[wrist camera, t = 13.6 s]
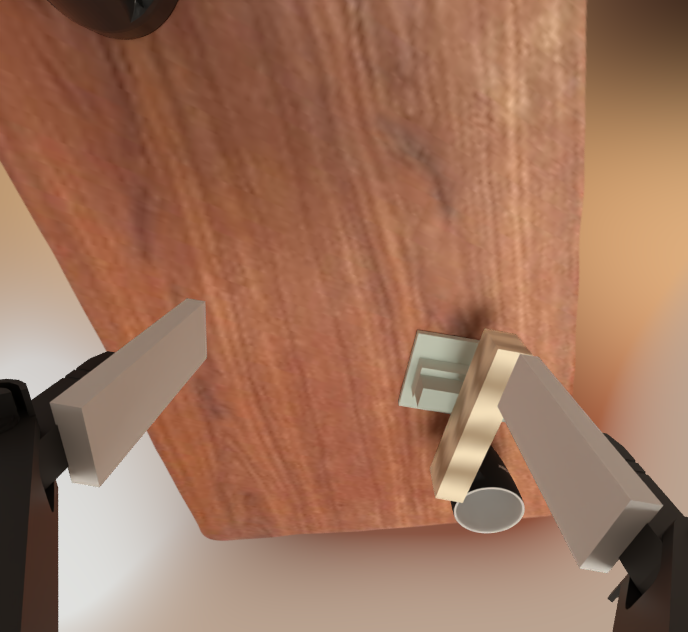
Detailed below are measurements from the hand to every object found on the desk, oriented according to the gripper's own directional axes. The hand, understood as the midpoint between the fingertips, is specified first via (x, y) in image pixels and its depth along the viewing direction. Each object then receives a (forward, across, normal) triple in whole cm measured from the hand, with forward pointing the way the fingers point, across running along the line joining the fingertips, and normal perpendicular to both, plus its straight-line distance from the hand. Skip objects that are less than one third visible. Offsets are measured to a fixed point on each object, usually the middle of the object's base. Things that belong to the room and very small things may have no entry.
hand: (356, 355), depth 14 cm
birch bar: (+22, +16, -18) cm, 33 cm away
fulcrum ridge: (+29, +16, -18) cm, 37 cm away
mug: (+29, +21, -30) cm, 47 cm away
